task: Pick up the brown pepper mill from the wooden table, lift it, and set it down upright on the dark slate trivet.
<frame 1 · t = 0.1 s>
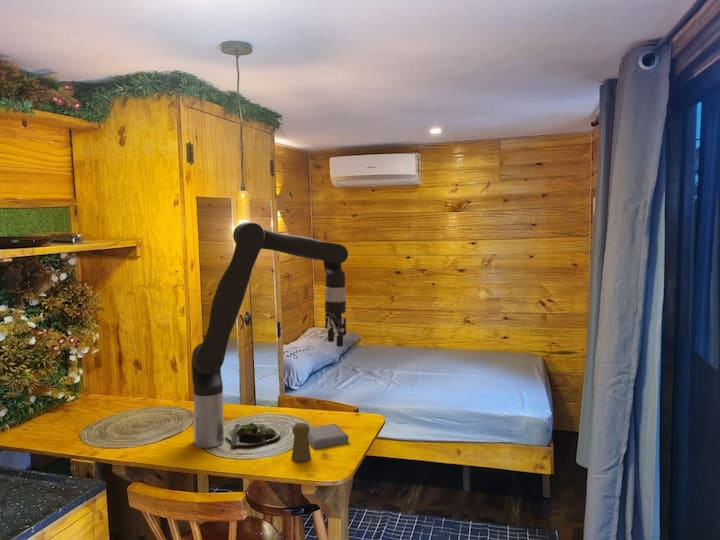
hand: (335, 343, 196), 29 cm above the table, tool pointing down, fingers open, 8 cm apart
trivet: (325, 439, 183), on the table
salad plate: (252, 439, 184), on the table
brown pepper mill: (301, 459, 168), on the table
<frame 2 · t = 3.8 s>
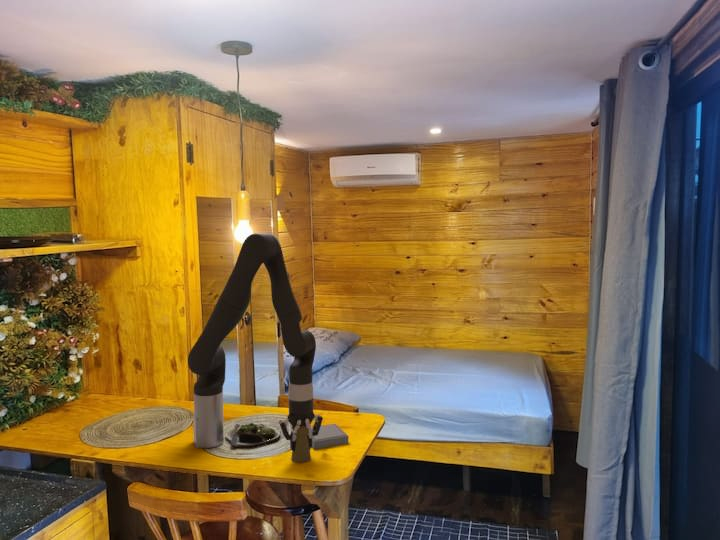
hand: (301, 450, 168), 3 cm above the table, tool pointing down, fingers closed on brown pepper mill, 4 cm apart
brown pepper mill: (301, 459, 168), on the table, touching gripper
everything else where it was.
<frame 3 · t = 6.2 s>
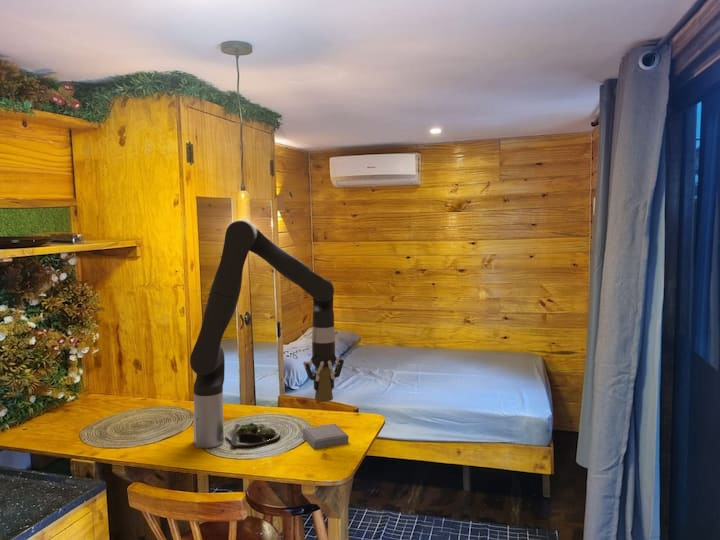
hand: (324, 390, 180), 17 cm above the table, tool pointing down, fingers closed on brown pepper mill, 4 cm apart
brown pepper mill: (323, 399, 180), point 14 cm above the table, touching gripper
everything else where it was.
when the fingers open (7 cm above the table, at t = 8.7 s): brown pepper mill drops 1 cm, resting on trivet.
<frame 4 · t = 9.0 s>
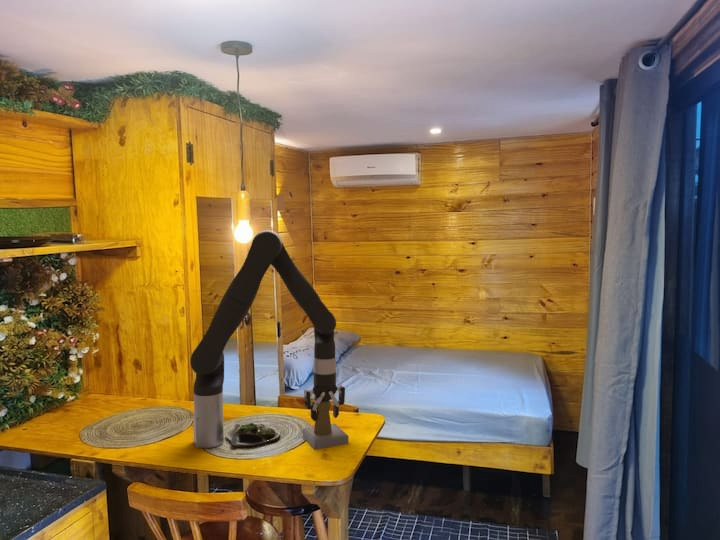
hand: (324, 418, 183), 7 cm above the table, tool pointing down, fingers open, 7 cm apart
brown pepper mill: (322, 432, 183), point 3 cm above the table, touching trivet
everything else where it was.
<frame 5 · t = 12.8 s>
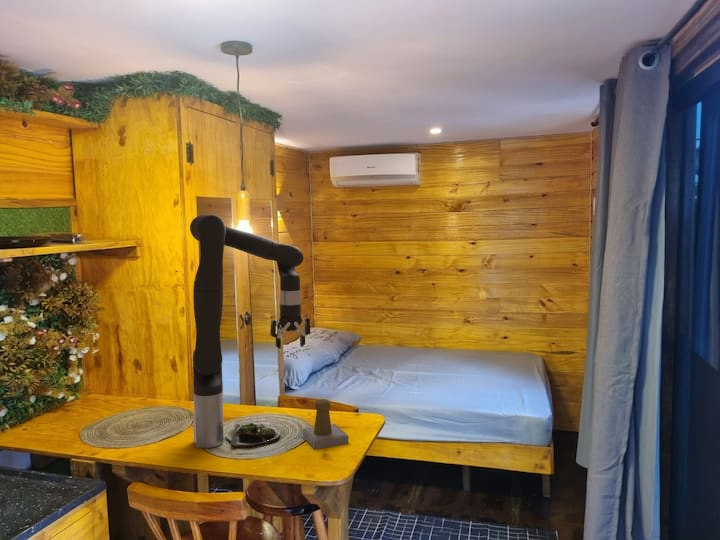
hand: (290, 347, 196), 28 cm above the table, tool pointing down, fingers open, 8 cm apart
nothing on the table moved.
at the end: brown pepper mill inside the target area on the trivet (0.8 cm from its centre), point 2.5 cm above the trivet's base; brown pepper mill tilted 0°; the gripper is holding nothing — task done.
